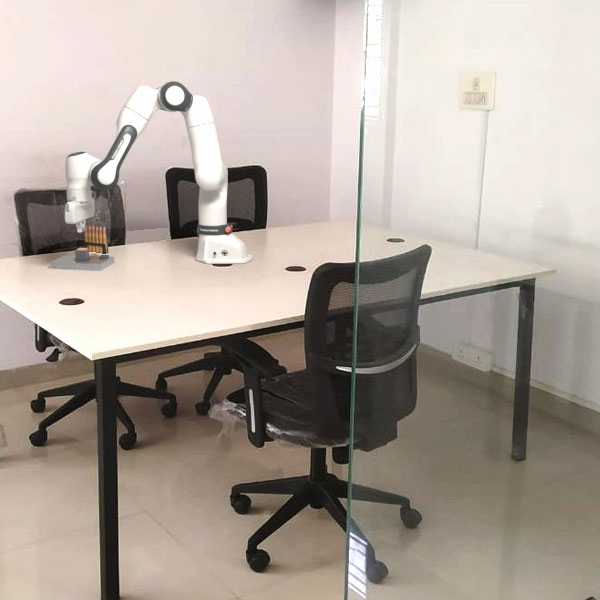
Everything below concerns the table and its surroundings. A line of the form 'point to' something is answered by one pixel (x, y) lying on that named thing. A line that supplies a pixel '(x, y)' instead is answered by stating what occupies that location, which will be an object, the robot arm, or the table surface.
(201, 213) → the robot arm
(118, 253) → the table surface
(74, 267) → the socket plate
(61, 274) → the table surface
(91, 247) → the ammunition clip
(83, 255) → the plug
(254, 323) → the table surface
